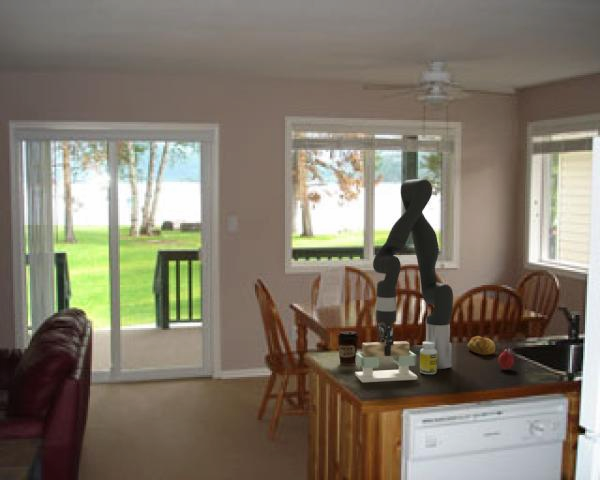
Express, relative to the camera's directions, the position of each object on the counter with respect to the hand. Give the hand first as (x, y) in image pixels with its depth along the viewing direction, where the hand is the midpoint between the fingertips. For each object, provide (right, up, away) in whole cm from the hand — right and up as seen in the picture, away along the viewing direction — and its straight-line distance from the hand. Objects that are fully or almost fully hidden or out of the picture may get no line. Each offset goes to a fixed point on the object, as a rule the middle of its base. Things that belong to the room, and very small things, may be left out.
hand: (385, 354), depth 242 cm
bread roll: (+46, -6, +38) cm, 60 cm away
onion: (+48, -8, +10) cm, 50 cm away
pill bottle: (+17, -9, +7) cm, 20 cm away
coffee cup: (-12, -8, +20) cm, 25 cm away
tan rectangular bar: (0, 0, 0) cm, 0 cm away
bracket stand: (0, -9, +1) cm, 9 cm away
